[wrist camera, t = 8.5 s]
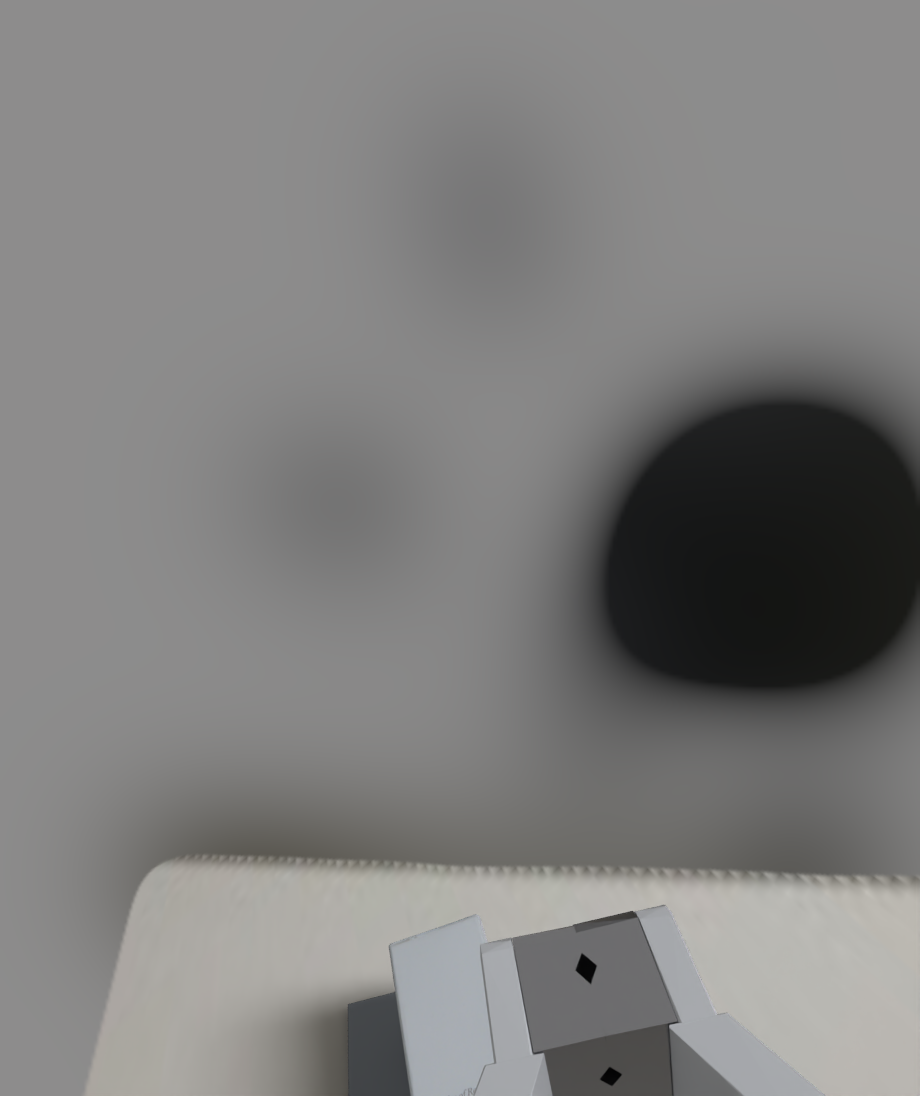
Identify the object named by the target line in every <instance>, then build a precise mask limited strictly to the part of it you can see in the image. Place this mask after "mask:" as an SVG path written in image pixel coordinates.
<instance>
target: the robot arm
mask: <svg viewBox="0 0 920 1096" xmlns="http://www.w3.org/2000/svg"><path fill="white" fill-rule="evenodd" d="M512 939H513V942H512ZM513 945H514V947H513ZM480 959H481V966H482V974H483V982H484V989H485V997H486V1005H487V1012H488V1020H489V1028H490V1035H491V1043H492V1051H493V1058H494V1063H492V1064H488V1065H484V1068H483V1071H482V1073H481V1076H480V1079H479V1081H478V1084H477V1087H476V1089H475V1092H474V1095H473V1096H826V1095H824V1094H823V1093H822V1092H821V1091H820V1090H818V1089H817V1088H816V1087H815V1086H814V1085H812V1084H811V1083H810V1082H809V1081H808V1080H807V1079H805V1078H804V1077H803V1076H802V1075H801V1074H799V1073H798V1072H797V1071H796V1070H795V1069H793V1068H792V1067H791V1066H790V1065H789V1064H788V1063H786V1062H785V1061H784V1060H783V1059H782V1058H780V1057H779V1056H778V1055H777V1054H776V1053H774V1052H773V1051H772V1050H771V1049H770V1048H769V1047H767V1046H766V1045H765V1044H764V1043H763V1042H761V1041H760V1040H759V1039H758V1038H757V1037H755V1036H754V1035H753V1034H752V1033H751V1032H750V1031H748V1030H747V1029H746V1028H745V1027H744V1026H742V1025H741V1024H740V1023H739V1022H738V1021H736V1020H735V1019H734V1018H733V1017H732V1016H731V1015H729V1014H728V1013H722V1014H717V1013H716V1010H715V1008H714V1006H713V1004H712V1002H711V999H710V997H709V995H708V993H707V990H706V988H705V986H704V984H703V981H702V979H701V977H700V975H699V973H698V970H697V968H696V966H695V964H694V961H693V959H692V957H691V955H690V952H689V950H688V948H687V946H686V943H685V941H684V939H683V937H682V935H681V932H680V930H679V928H678V926H677V923H676V921H675V919H674V917H673V914H672V912H671V911H670V910H669V909H668V908H667V906H665V905H661V906H657V907H652V908H648V909H644V910H640V911H635V912H633V911H630V912H626V913H621V914H617V915H613V916H609V917H604V918H600V919H596V920H591V921H587V922H583V923H579V924H574V925H573V926H569V927H564V928H559V929H554V930H549V931H544V932H539V933H534V934H529V935H524V936H519V937H514V938H507V939H502V940H498V941H493V942H489V943H484V944H480Z"/></svg>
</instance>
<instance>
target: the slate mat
mask: <svg viewBox="0 0 920 1096" xmlns="http://www.w3.org/2000/svg"><path fill="white" fill-rule="evenodd" d="M348 1085H349V1096H411V1095H410V1089H409V1082H408V1075H407V1068H406V1061H405V1055H404V1048H403V1041H402V1034H401V1027H400V1021H399V1014H398V1007H397V1000H396V993H395V992H394V993H390V994H386V995H382V996H378V997H374V998H370V999H367V1000H363V1001H359V1002H355V1003H351V1004H348Z"/></svg>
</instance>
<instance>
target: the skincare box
mask: <svg viewBox="0 0 920 1096" xmlns="http://www.w3.org/2000/svg"><path fill="white" fill-rule="evenodd" d="M484 943H488V942H487V938H486V935H485V932H484V928H483V925H482V922H481V919H480V917H479V915H472V916H469V917H467V918H464V919H461V920H458V921H456V922H453V923H450V924H447V925H444V926H441V927H438V928H435V929H432V930H430V931H427V932H424V933H421V934H418V935H415V936H412V937H409V938H406V939H403V940H400V941H397V942H394V943H391V944H390V945H389V951H390V958H391V965H392V972H393V979H394V986H395V993H396V1000H397V1007H398V1014H399V1021H400V1027H401V1034H402V1041H403V1048H404V1055H405V1061H406V1068H407V1075H408V1082H409V1089H410V1095H411V1096H473V1095H474V1092H475V1089H476V1087H477V1084H478V1081H479V1079H480V1076H481V1073H482V1071H483V1068H484V1065H488V1064H492V1063H494V1058H493V1051H492V1043H491V1035H490V1028H489V1020H488V1012H487V1005H486V997H485V989H484V982H483V974H482V966H481V959H480V944H484Z"/></svg>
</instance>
